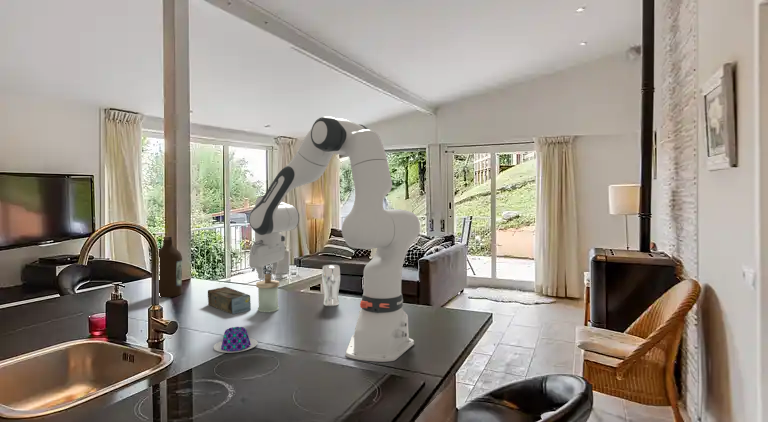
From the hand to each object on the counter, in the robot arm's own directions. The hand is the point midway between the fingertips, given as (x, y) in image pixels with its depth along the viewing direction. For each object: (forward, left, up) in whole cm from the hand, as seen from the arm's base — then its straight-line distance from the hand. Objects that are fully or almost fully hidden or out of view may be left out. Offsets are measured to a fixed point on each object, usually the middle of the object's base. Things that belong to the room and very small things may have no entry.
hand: (268, 275), depth 165 cm
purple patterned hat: (-37, -10, -13) cm, 40 cm away
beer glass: (+13, -20, -13) cm, 27 cm away
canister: (0, 0, -13) cm, 13 cm away
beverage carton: (-1, +16, -13) cm, 21 cm away
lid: (0, 0, -4) cm, 4 cm away
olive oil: (+10, +52, -13) cm, 55 cm away
